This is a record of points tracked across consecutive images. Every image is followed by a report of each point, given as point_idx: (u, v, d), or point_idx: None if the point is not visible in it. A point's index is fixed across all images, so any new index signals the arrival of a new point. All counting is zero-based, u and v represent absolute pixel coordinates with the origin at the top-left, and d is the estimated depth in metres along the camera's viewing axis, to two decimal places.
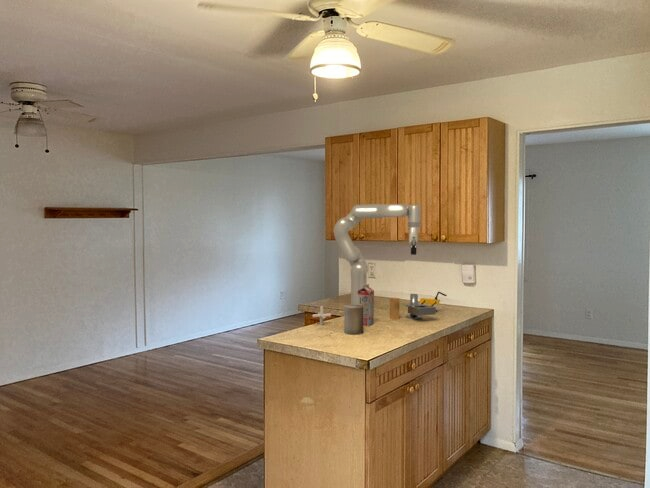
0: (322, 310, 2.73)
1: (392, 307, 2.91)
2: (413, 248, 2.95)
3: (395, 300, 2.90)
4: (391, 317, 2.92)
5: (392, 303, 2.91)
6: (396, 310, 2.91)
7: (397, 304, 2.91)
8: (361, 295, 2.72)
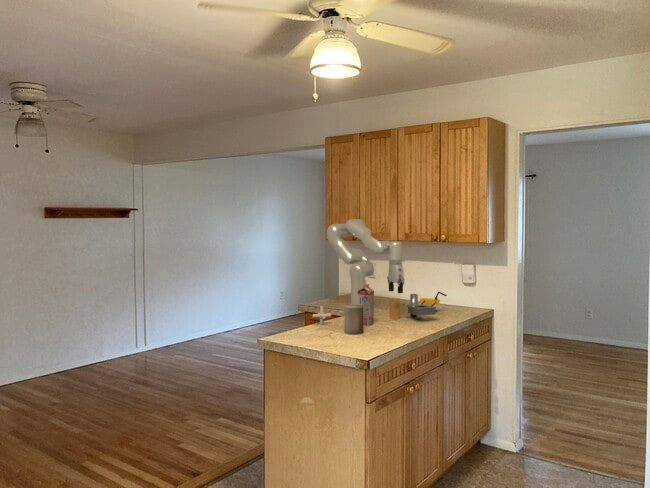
0: (322, 310, 2.73)
1: (392, 307, 2.91)
2: None
3: (395, 300, 2.90)
4: (391, 317, 2.92)
5: (392, 303, 2.91)
6: (396, 310, 2.91)
7: (397, 304, 2.91)
8: (361, 295, 2.72)
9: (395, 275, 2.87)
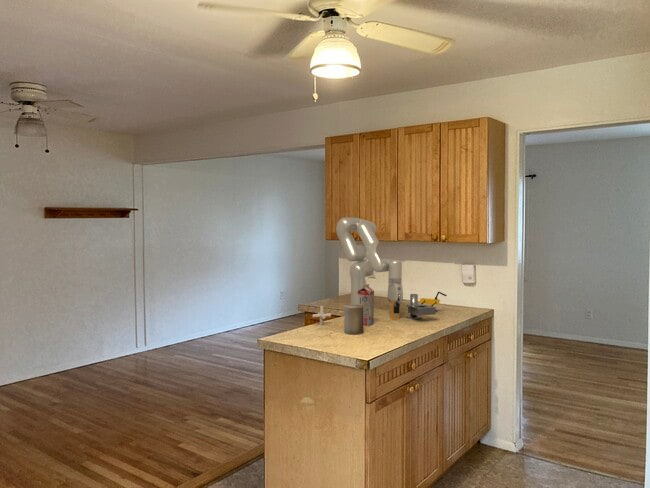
0: (322, 310, 2.73)
1: (392, 307, 2.91)
2: None
3: None
4: (391, 317, 2.92)
5: (392, 303, 2.91)
6: None
7: None
8: (361, 295, 2.72)
9: (394, 294, 2.88)
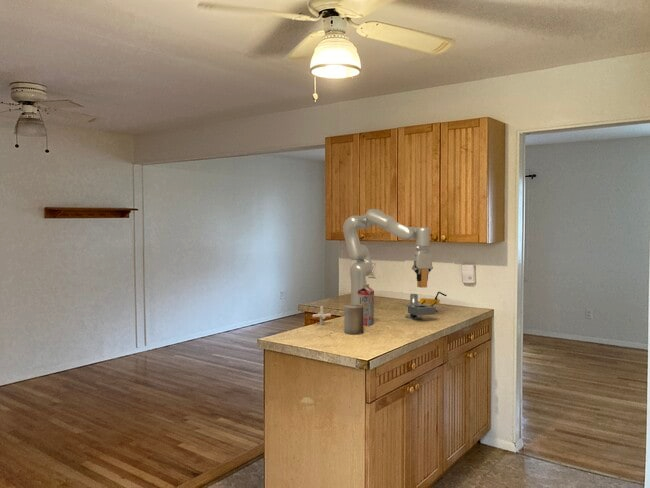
0: (322, 310, 2.73)
1: None
2: None
3: None
4: None
5: None
6: None
7: (420, 272, 2.86)
8: (361, 295, 2.72)
9: None
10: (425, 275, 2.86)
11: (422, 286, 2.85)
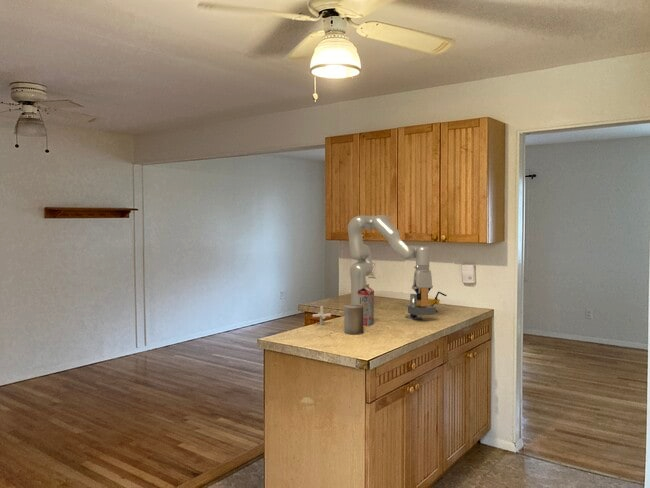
0: (322, 310, 2.73)
1: None
2: None
3: None
4: None
5: None
6: None
7: (420, 291, 2.86)
8: (361, 295, 2.72)
9: None
10: (425, 294, 2.86)
11: (422, 305, 2.86)
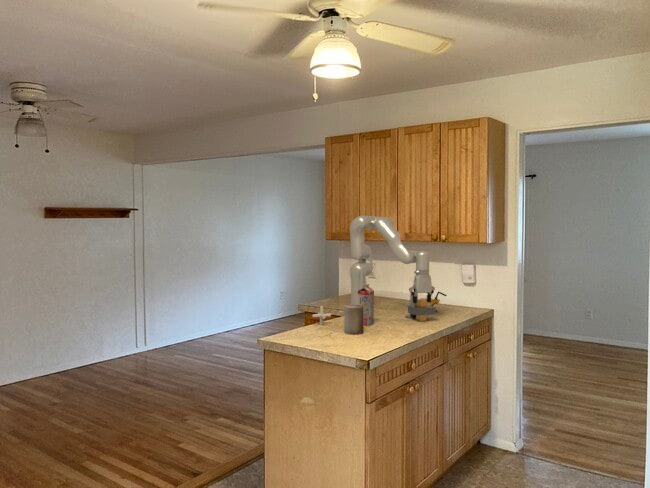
0: (322, 310, 2.73)
1: None
2: None
3: (418, 301, 2.88)
4: None
5: None
6: None
7: (419, 305, 2.87)
8: (361, 295, 2.72)
9: None
10: None
11: (421, 320, 2.86)
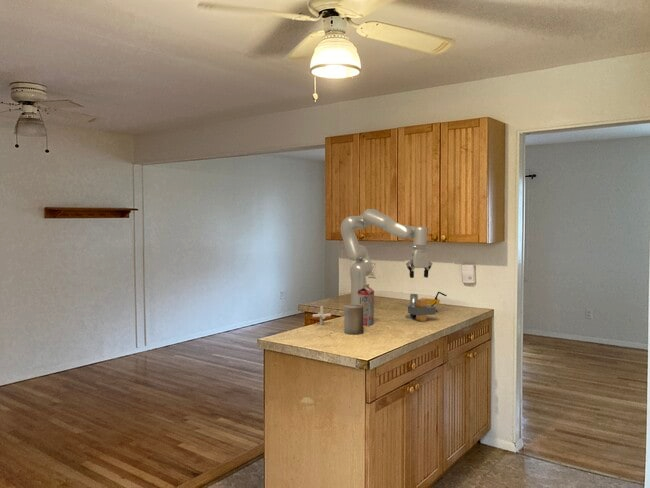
0: (322, 310, 2.73)
1: None
2: None
3: (418, 301, 2.88)
4: None
5: None
6: None
7: (419, 305, 2.87)
8: (361, 295, 2.72)
9: None
10: None
11: (421, 320, 2.86)
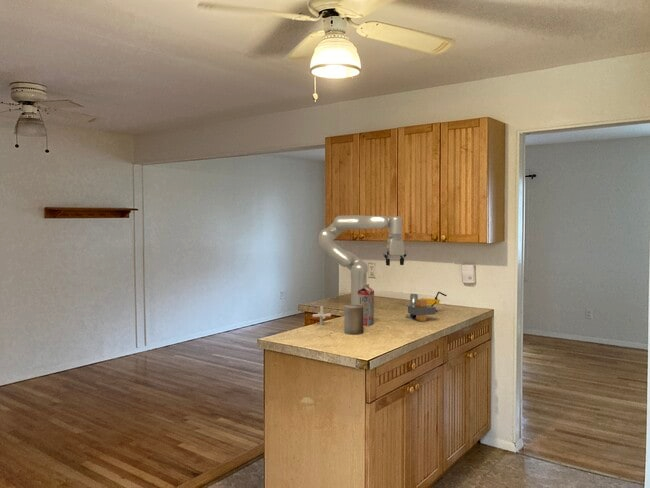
0: (322, 310, 2.73)
1: None
2: None
3: (418, 301, 2.88)
4: None
5: None
6: None
7: (419, 305, 2.87)
8: (361, 295, 2.72)
9: None
10: None
11: (421, 320, 2.86)
